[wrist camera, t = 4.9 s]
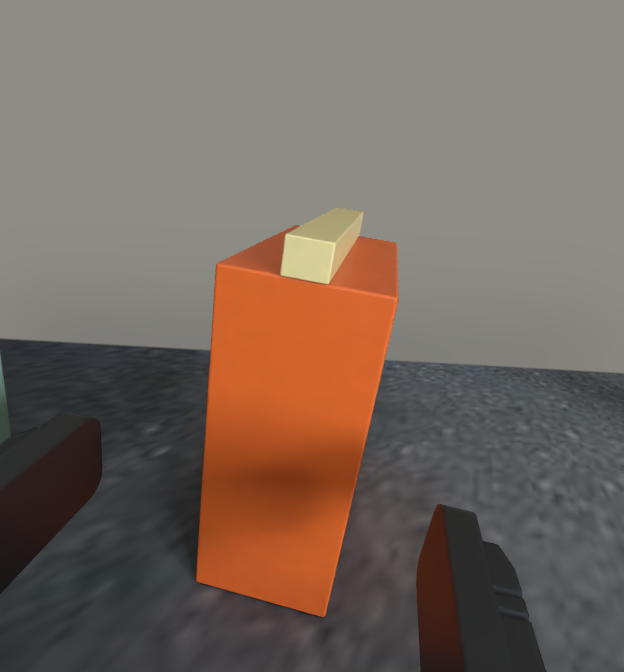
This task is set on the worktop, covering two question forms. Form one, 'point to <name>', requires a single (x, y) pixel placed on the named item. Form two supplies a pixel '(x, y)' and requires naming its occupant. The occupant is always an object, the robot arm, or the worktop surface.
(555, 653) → the worktop surface
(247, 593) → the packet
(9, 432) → the bin
